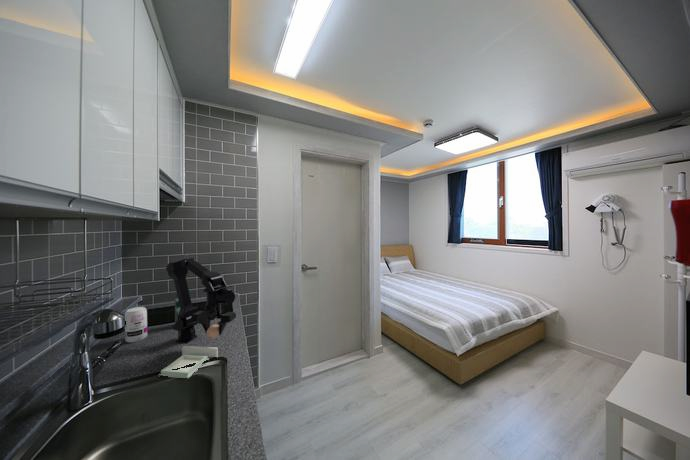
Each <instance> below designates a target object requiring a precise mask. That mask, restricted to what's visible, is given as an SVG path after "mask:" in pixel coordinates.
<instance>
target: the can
mask: <svg viewBox="0 0 690 460" xmlns="http://www.w3.org/2000/svg"><path fill="white" fill-rule="evenodd" d="M179 311H180V305H179V301H178V297H177V298H175V299H174V322H175V323H176V322H177V321H178V314H179ZM175 323H174V324H175Z"/></svg>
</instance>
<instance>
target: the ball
mask: <svg viewBox="0 0 690 460" xmlns="http://www.w3.org/2000/svg"><path fill="white" fill-rule="evenodd" d="M206 336H207V337H208V338H209V339H217V338H218V337H219V336H220V335H219V324H212V325H210V327H209V328H208V330H207V334H206Z"/></svg>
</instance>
